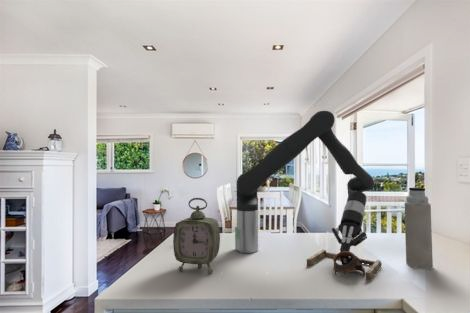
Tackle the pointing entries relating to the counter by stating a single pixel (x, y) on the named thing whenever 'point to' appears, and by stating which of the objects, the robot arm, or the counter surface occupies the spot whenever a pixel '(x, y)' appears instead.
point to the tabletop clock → (196, 239)
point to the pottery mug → (347, 263)
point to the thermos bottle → (418, 230)
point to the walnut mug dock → (369, 273)
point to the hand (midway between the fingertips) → (343, 253)
